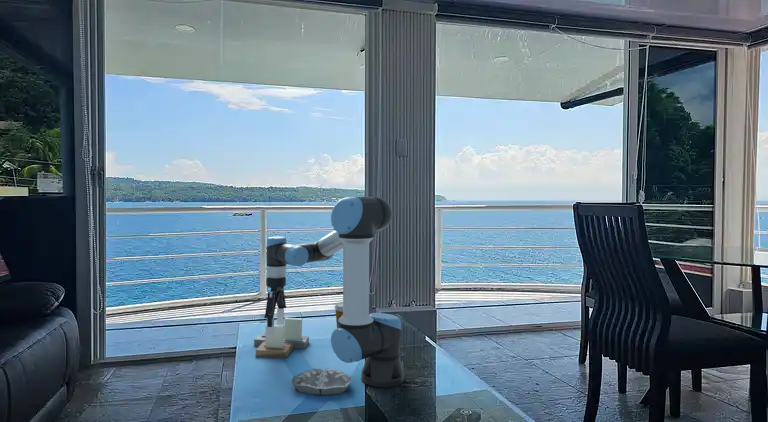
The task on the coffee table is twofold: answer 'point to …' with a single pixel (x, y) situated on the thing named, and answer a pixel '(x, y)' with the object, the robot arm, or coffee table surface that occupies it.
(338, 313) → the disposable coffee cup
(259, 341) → the grey slotted plate
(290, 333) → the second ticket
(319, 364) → the coffee table surface
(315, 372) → the brain slice
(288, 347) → the frame
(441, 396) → the coffee table surface
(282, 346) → the pale green slab
